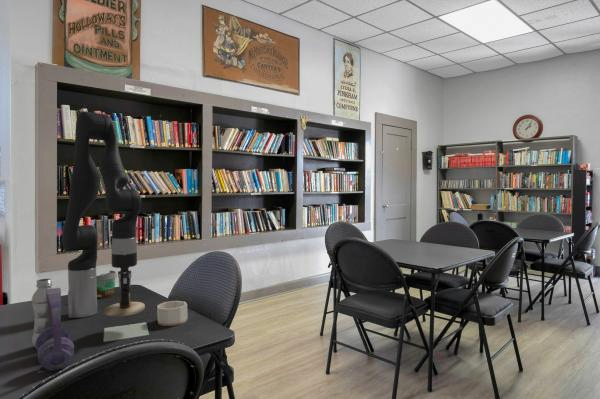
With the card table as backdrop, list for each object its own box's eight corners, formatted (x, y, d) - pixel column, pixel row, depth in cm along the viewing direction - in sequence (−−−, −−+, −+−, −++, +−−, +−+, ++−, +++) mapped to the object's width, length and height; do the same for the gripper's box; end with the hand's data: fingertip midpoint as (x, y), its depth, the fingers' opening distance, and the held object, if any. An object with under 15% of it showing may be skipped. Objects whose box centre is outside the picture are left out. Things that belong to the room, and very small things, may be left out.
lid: (104, 318, 122) (103, 300, 122) (105, 307, 133) (104, 290, 133) (146, 313, 127) (145, 296, 127) (143, 302, 138) (143, 287, 138)
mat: (103, 343, 121) (103, 341, 121) (104, 329, 133) (104, 328, 133) (149, 335, 127) (149, 334, 127) (146, 323, 139) (146, 322, 138)
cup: (159, 328, 133) (158, 310, 133) (156, 319, 142) (156, 303, 142) (189, 324, 137) (189, 306, 137) (184, 315, 146) (184, 299, 146)
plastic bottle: (40, 343, 122) (38, 277, 121) (63, 342, 122) (61, 277, 122) (27, 351, 115) (25, 282, 115) (52, 350, 116) (50, 282, 115)
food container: (104, 300, 168) (104, 276, 168) (91, 299, 169) (91, 276, 169) (123, 292, 180) (122, 270, 180) (111, 292, 181) (110, 270, 181)
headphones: (35, 355, 113) (33, 285, 112) (68, 348, 118) (66, 280, 117) (39, 380, 98) (36, 299, 97) (77, 370, 103) (75, 293, 102)
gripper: (111, 248, 134) (112, 299, 135) (111, 255, 121) (112, 312, 122) (135, 247, 137) (136, 297, 138) (137, 254, 124) (138, 308, 125)
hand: (125, 303), depth 130 cm, fingers closed on lid, 3 cm apart
